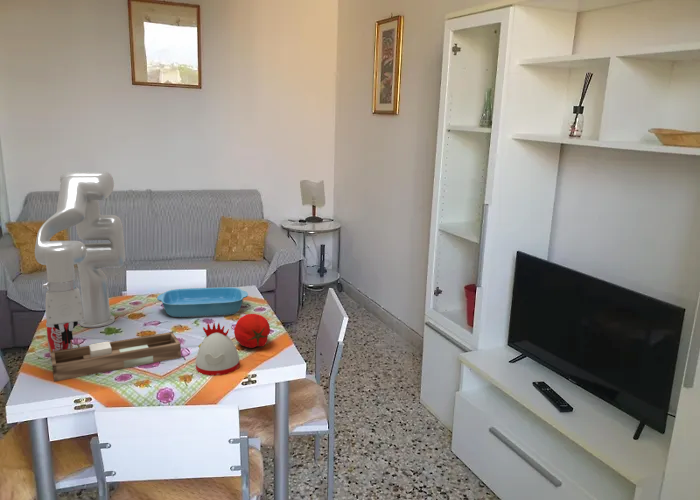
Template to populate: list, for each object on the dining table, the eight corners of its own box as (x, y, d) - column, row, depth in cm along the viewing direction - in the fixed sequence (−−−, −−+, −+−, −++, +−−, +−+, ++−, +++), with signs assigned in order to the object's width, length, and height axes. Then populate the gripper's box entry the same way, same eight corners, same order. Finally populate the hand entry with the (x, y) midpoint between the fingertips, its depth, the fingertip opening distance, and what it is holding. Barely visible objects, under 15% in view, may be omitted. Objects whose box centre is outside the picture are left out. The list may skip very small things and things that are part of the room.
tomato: (242, 347, 203) (253, 361, 191) (222, 323, 197) (233, 336, 185) (269, 325, 206) (282, 338, 194) (251, 300, 200) (263, 313, 188)
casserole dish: (246, 299, 247) (246, 284, 245) (249, 316, 226) (249, 300, 224) (160, 304, 238) (159, 288, 237) (155, 322, 217) (154, 305, 216)
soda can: (47, 360, 181) (43, 326, 178) (52, 352, 187) (48, 319, 185) (70, 358, 183) (67, 324, 180) (74, 350, 189) (71, 317, 187)
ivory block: (90, 355, 179) (89, 344, 178) (110, 352, 182) (109, 341, 181) (92, 362, 174) (90, 351, 173) (112, 359, 177) (111, 347, 176)
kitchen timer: (200, 357, 186) (198, 315, 182) (241, 356, 187) (240, 315, 184) (192, 376, 172) (190, 331, 169) (236, 375, 174) (235, 330, 170)
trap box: (52, 366, 177) (50, 351, 176) (173, 344, 195) (172, 331, 194) (54, 381, 167) (52, 366, 166) (181, 357, 185) (180, 343, 184)
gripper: (34, 292, 161) (40, 350, 165) (90, 285, 168) (95, 342, 172) (34, 285, 167) (40, 342, 171) (87, 280, 174) (92, 334, 178)
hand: (67, 342), depth 171 cm, fingers closed
